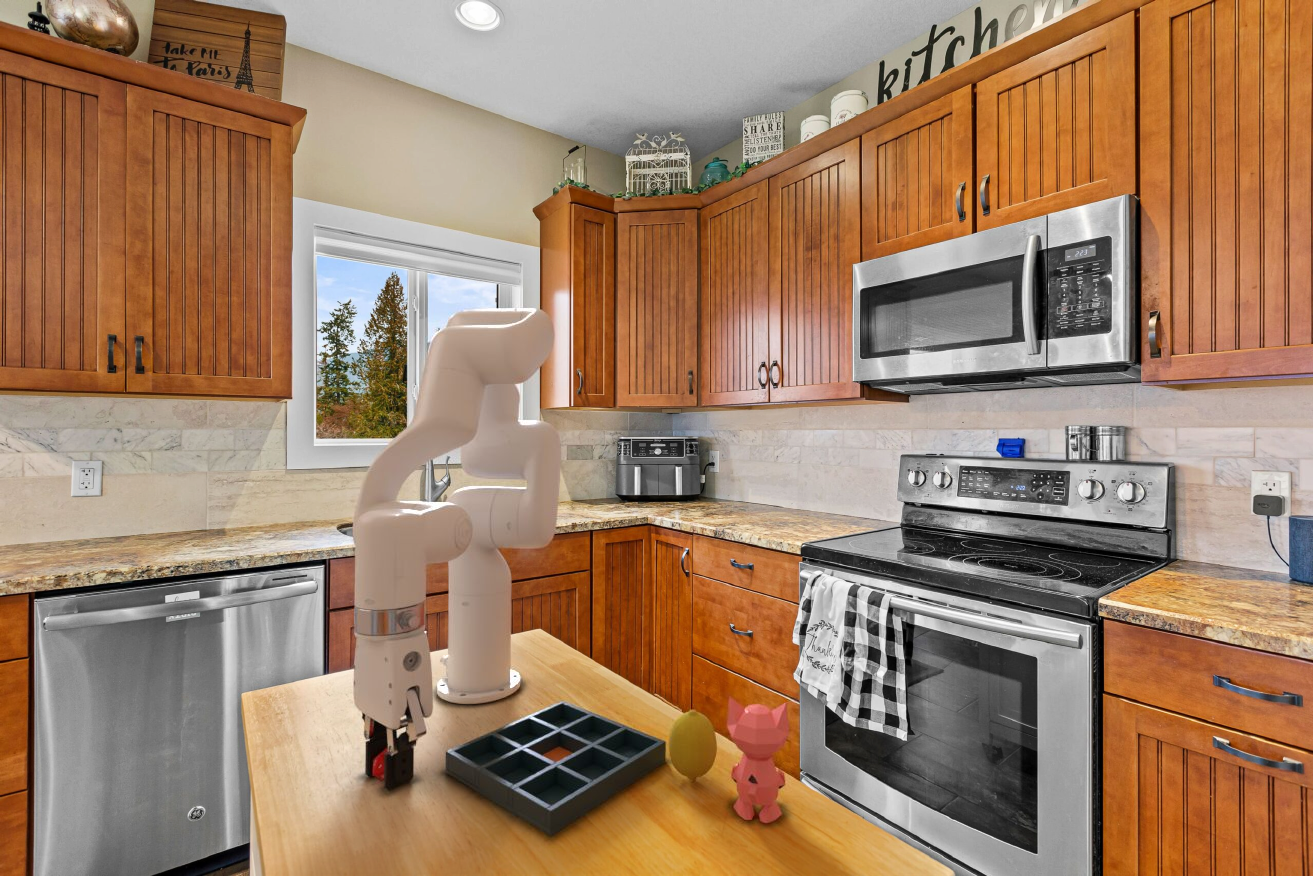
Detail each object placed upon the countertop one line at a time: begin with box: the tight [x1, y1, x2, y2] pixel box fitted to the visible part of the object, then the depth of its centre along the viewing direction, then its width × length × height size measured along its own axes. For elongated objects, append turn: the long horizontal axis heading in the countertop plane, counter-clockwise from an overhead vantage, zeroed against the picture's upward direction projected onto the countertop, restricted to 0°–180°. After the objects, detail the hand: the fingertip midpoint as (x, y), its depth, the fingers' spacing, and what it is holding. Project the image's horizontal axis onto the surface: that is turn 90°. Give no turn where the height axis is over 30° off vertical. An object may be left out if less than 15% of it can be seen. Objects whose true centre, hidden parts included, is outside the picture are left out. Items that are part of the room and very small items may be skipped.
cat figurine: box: [726, 695, 792, 824], centre depth 64 cm, size 7×7×12 cm
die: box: [372, 747, 388, 782], centre depth 71 cm, size 4×4×4 cm
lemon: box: [668, 709, 718, 782], centre depth 71 cm, size 6×6×8 cm
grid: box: [444, 700, 667, 837], centre depth 73 cm, size 18×18×2 cm
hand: (389, 776), depth 71 cm, fingers closed on die, 3 cm apart
